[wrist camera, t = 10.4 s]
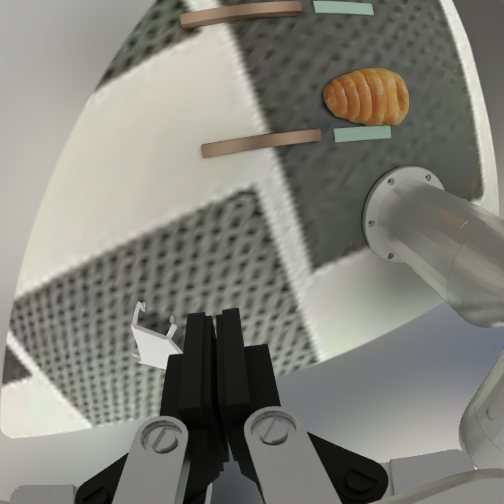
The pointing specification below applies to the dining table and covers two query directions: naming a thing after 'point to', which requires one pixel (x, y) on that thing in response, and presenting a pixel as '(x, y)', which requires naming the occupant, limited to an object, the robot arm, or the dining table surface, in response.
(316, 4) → the strips
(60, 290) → the dining table surface
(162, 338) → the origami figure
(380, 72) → the pastry
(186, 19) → the chute
